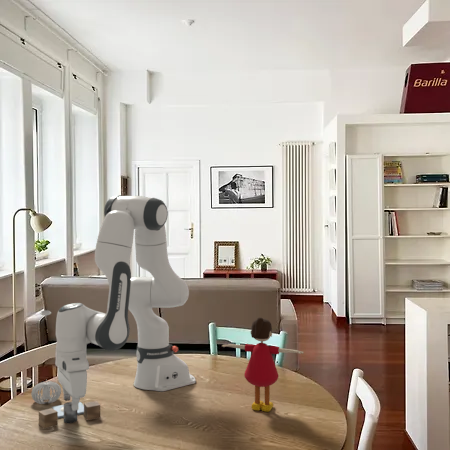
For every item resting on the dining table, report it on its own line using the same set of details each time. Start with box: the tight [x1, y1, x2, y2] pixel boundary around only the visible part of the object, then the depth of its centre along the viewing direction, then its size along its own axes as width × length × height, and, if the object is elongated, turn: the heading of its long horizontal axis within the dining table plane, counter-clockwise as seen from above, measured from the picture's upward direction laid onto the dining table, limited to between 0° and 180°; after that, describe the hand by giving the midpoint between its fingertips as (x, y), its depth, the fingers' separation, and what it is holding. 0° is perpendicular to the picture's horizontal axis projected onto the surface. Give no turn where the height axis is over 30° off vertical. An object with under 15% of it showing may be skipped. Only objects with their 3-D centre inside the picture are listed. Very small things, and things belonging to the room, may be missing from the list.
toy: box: [221, 317, 304, 413], centre depth 168 cm, size 27×11×30 cm, turn 71°
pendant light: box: [30, 310, 62, 405], centre depth 176 cm, size 9×9×30 cm
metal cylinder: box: [63, 401, 78, 424], centre depth 160 cm, size 4×4×5 cm
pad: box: [51, 401, 84, 419], centre depth 168 cm, size 9×9×1 cm
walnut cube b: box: [38, 407, 59, 430], centre depth 157 cm, size 4×4×4 cm
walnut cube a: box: [83, 400, 101, 421], centre depth 163 cm, size 4×4×4 cm
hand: (70, 404), depth 159 cm, fingers open, 8 cm apart
